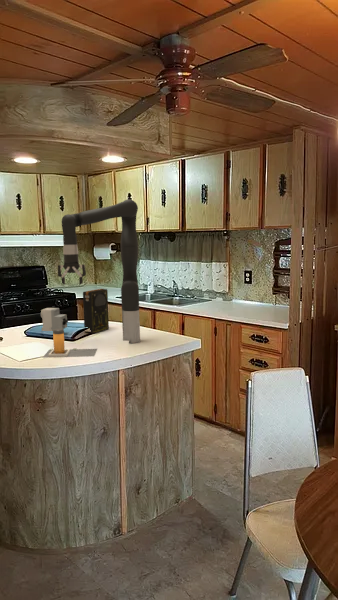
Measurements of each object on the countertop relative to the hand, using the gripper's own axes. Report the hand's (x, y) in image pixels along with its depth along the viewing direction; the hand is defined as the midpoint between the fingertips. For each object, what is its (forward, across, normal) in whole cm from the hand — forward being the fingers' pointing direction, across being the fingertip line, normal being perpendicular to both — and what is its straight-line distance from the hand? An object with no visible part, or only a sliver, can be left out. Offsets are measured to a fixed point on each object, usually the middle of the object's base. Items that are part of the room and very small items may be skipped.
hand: (72, 284), depth 243 cm
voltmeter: (+32, +8, +30) cm, 45 cm away
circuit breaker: (+32, -15, +24) cm, 43 cm away
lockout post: (+30, -3, -27) cm, 41 cm away
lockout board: (+32, +2, -25) cm, 41 cm away
